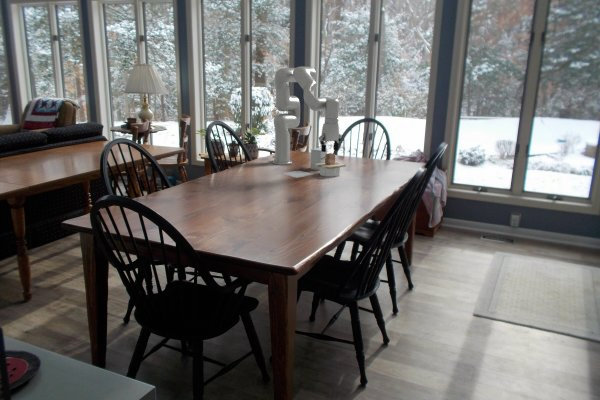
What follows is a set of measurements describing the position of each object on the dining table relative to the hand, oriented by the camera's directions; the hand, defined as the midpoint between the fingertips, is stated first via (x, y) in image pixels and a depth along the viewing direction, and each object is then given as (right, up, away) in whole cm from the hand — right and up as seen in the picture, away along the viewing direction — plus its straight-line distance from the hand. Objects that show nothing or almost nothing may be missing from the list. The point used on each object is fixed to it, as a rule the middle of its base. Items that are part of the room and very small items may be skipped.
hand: (329, 150), depth 286 cm
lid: (0, -9, +2) cm, 9 cm away
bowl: (0, -14, +3) cm, 14 cm away
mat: (-18, -14, +3) cm, 23 cm away
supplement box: (-6, -10, +19) cm, 22 cm away
